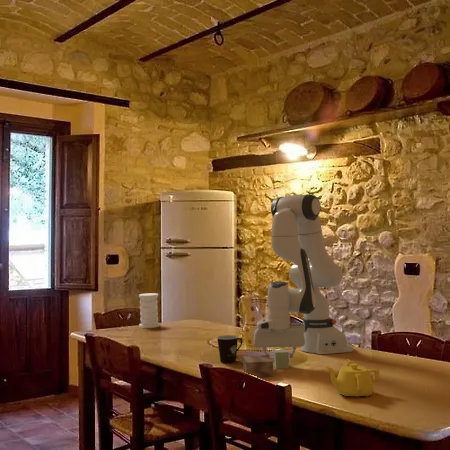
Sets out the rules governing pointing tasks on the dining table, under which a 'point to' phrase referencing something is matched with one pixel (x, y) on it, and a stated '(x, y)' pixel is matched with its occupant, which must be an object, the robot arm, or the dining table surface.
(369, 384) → the teapot
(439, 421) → the dining table surface
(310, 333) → the robot arm
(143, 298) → the decorative container
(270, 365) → the walnut box
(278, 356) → the green cube
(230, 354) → the coffee mug
